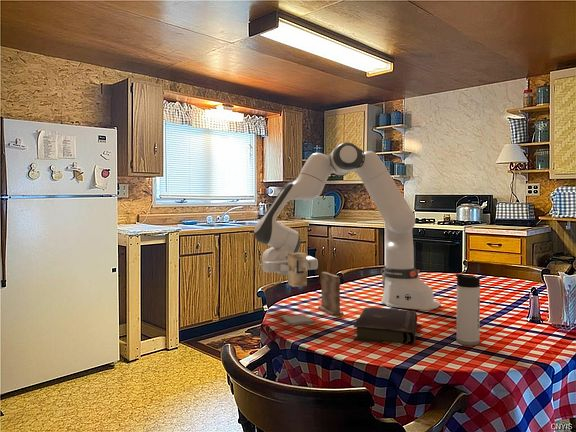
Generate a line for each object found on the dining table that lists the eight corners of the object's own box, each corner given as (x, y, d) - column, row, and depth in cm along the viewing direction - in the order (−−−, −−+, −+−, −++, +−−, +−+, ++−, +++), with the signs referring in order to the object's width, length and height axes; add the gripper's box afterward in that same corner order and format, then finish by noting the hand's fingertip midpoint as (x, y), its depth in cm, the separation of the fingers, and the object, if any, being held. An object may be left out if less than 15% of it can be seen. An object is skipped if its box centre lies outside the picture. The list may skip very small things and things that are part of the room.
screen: (318, 308, 176) (318, 272, 175) (328, 307, 177) (328, 271, 177) (332, 315, 165) (332, 277, 164) (343, 314, 166) (343, 276, 166)
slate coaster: (303, 317, 164) (303, 314, 164) (313, 322, 156) (313, 320, 156) (282, 319, 161) (282, 317, 161) (291, 325, 153) (291, 322, 153)
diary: (417, 324, 155) (417, 310, 155) (415, 348, 131) (415, 331, 131) (362, 320, 161) (362, 306, 160) (350, 342, 137) (350, 325, 136)
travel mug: (451, 339, 136) (451, 272, 136) (473, 338, 137) (473, 272, 136) (461, 346, 130) (461, 276, 129) (483, 345, 131) (484, 275, 130)
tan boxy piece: (301, 283, 161) (300, 252, 161) (307, 285, 156) (306, 253, 156) (287, 284, 159) (287, 252, 159) (293, 287, 155) (293, 254, 154)
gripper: (256, 255, 166) (269, 260, 153) (308, 252, 173) (324, 257, 160) (257, 273, 166) (269, 279, 153) (308, 269, 174) (324, 275, 161)
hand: (298, 268), depth 157 cm, fingers closed on tan boxy piece, 5 cm apart
